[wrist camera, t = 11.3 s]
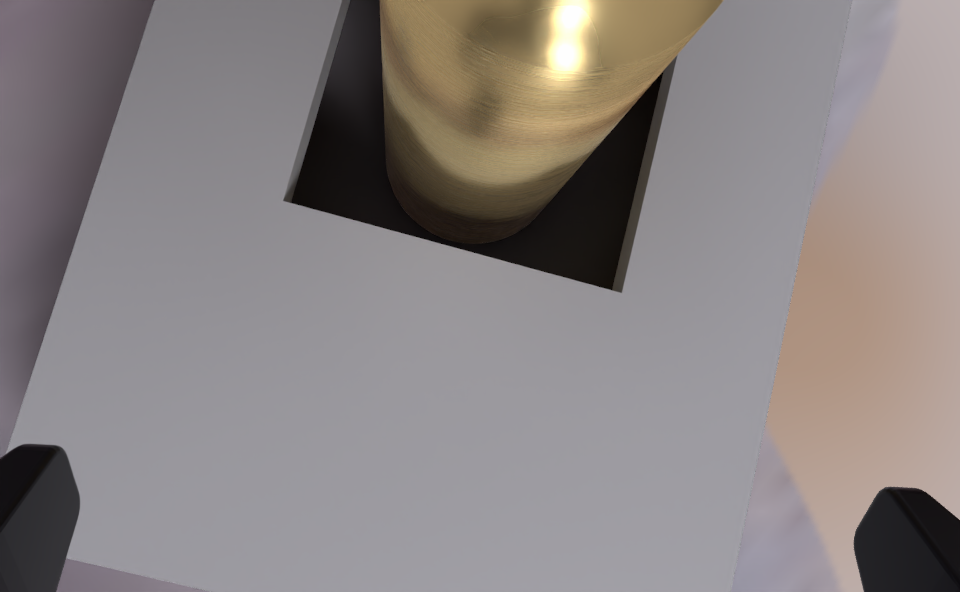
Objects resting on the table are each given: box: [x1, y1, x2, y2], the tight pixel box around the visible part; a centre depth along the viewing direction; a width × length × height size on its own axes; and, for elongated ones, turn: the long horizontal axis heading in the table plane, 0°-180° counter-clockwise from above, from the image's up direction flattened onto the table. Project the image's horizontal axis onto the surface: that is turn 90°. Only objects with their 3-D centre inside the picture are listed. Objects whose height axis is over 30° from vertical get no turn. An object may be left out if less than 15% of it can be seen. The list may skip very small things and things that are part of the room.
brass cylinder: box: [380, 0, 723, 244], centre depth 17 cm, size 5×5×13 cm
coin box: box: [6, 0, 852, 592], centre depth 21 cm, size 20×16×4 cm
